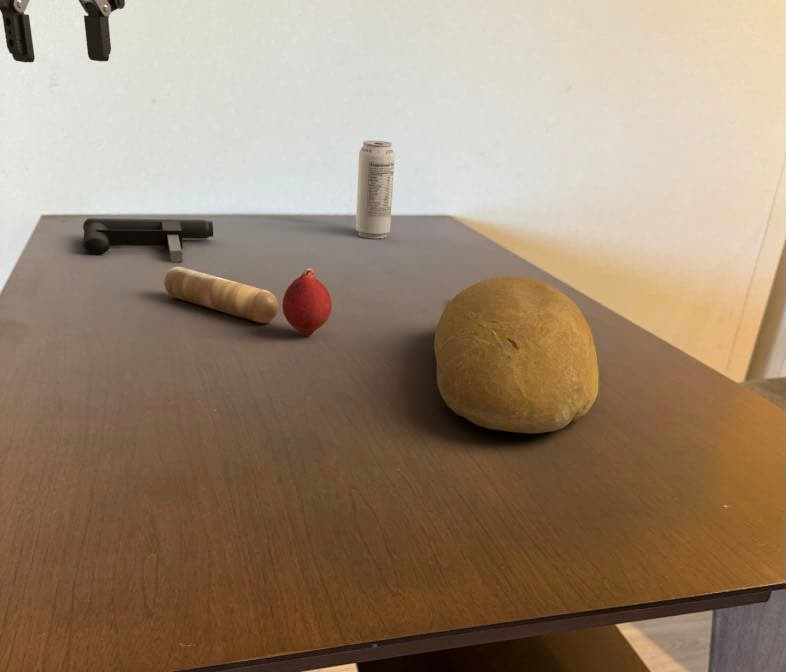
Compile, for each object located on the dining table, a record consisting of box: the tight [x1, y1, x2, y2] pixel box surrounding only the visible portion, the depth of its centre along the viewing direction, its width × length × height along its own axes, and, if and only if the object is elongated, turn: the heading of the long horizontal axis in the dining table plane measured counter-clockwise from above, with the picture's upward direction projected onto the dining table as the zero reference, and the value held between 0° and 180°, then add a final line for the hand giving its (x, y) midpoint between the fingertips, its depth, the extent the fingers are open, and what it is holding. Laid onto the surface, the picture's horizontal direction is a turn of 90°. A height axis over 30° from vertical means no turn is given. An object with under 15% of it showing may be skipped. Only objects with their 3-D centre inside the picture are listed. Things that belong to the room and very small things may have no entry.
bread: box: [433, 275, 600, 434], centre depth 93 cm, size 18×35×10 cm, turn 178°
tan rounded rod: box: [163, 266, 280, 324], centre depth 108 cm, size 18×4×4 cm, turn 57°
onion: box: [281, 268, 333, 337], centre depth 101 cm, size 6×6×8 cm
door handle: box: [82, 217, 214, 263], centre depth 132 cm, size 3×20×16 cm
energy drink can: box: [355, 140, 396, 240], centre depth 146 cm, size 6×6×15 cm
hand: (62, 61), depth 80 cm, fingers open, 8 cm apart
